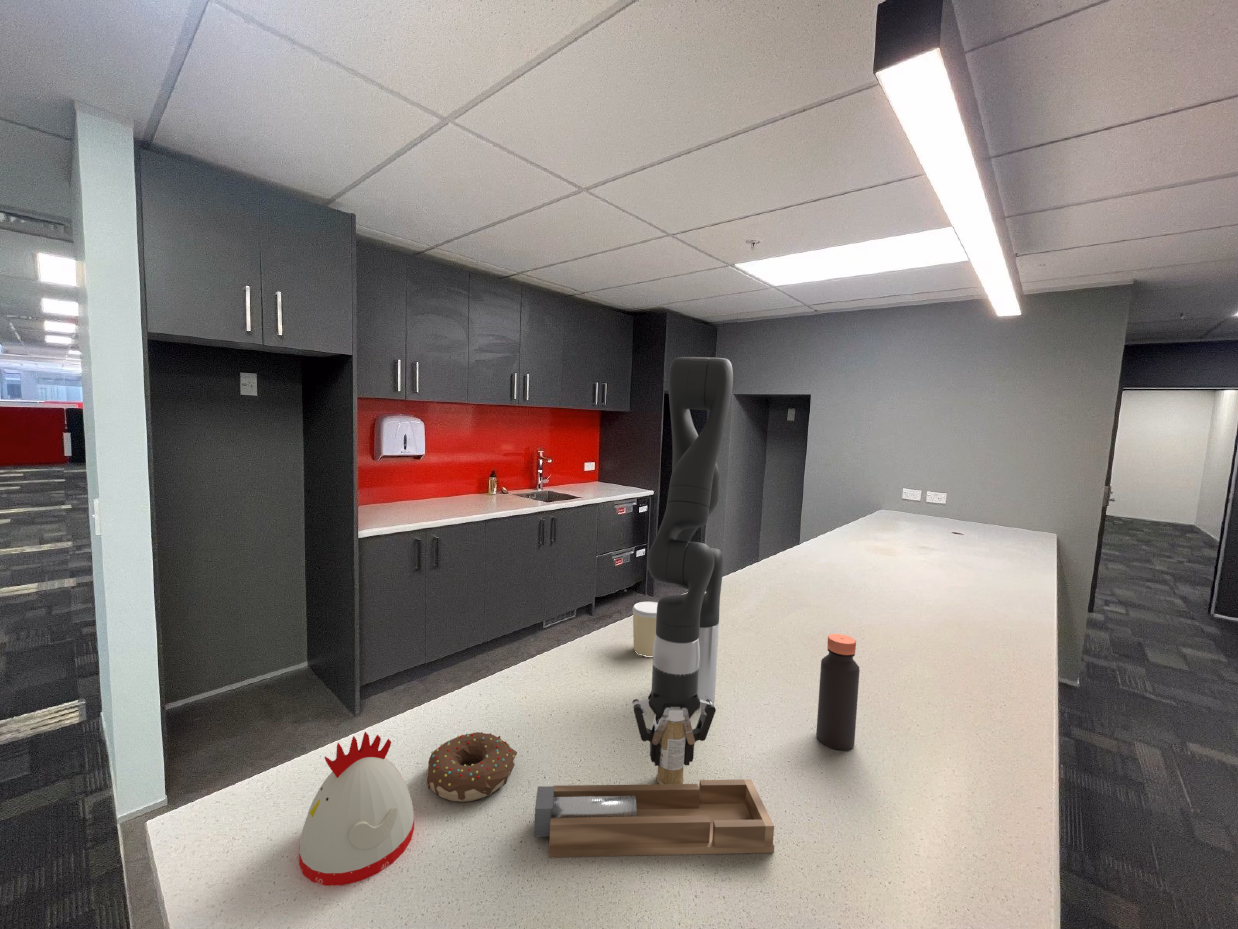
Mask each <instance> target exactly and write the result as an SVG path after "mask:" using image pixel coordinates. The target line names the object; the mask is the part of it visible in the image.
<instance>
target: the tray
mask: <svg viewBox="0 0 1238 929" xmlns="http://www.w3.org/2000/svg"><path fill="white" fill-rule="evenodd" d="M553 786H554V797H575V796H635V797H636V808H637V817H587V818H551V820H550V836H549V844H548V846H549V849H548V858H582V857H590V858H591V857H627V856H628V857H629V856H630V857H631V856H636V857H637V856H667V855H668V856H671V855H673V856H674V855H675V856H676V855H713V854H714V855H715V854H716V855H719V854H721V855H722V854H723V855H724V854H760V853H761V854H762V853H763V854H764V853H766V854H767V853H771V854H772V853H775V844H774V836H775V835H774V833H775V832H774V831H775V825H774V823H773V820H772V819H771V817H770V815H769V812H768V811H767V809H766V806H765V805H764V803H763V800H762V798H761V796H760V794H759V793H758V790H757V788H756V786H755V784H754V782H753V780H752V778H751V779H750V778H749V779H746V778H745V779H741V778H740V779H699V784H698V783H683V784H659V783H658V784H657V783H656V784H655V783H654V784H594V785H593V784H587V785H586V784H583V785H581V784H580V785H579V784H578V785H576V784H575V785H572V784H571V785H568V784H566V785H553Z"/></svg>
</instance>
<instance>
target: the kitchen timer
mask: <svg viewBox="0 0 1238 929" xmlns="http://www.w3.org/2000/svg"><path fill="white" fill-rule="evenodd" d="M380 744H381V737H380V735H379V734H377V735H376V736H375V737H374V739H373V741H372V743H371V741H370V736H369V733H368V732H367V731H364V733H363V736H362V739H361V744H360V748H359V747H358V741H357V738H356V737H355V735H353V736H352V738H351V742H350V747H349V751H348V753H347V754H345V752H344V749H343V747H342V746H341V744H340V743H339V742H337V745H336V754H335V755H336V756H335V759H334V760H331V759H330V758H329V757H327V756H324V760H325V762H326V764H327V765H328V768H329V769H330V770H331V772H330V774H329V775H327V777H326V778H325V780H324V781H323V782H322V784H321V785H320V787H319V789H318V790H317V793H316V795H315V796H314V798H313V800H312V802H311V805H310V806H309V810H308V813H307V815H306V817H305V821H304V824H303V827H302V831H301V836H300V843H299V852H298V855H299V856H298V858H299V860H298V863H299V867H300V870H301V873H302V875H303V876H304V877H305V878H307V879H308V880H309V881H310V882H312V883H315V884H318V885H322V886H345V885H349V884H353V883H359V882H362V881H364V880H366V879H368V878H370V877H373V876H375V875H378V874H379V873H381V872H382V871H383V870H385V869H387V868H388V867H389V866H390V865H393V863H394V862H396V860H398V859H399V858H400V857H401V855H403V854H404V852H405V851H406V849H407V848H408V846H409V844H410V843H411V841H412V838H413V834H414V831H415V812H414V807H413V802H412V796H411V794H410V791H409V787H408V786H407V782H406V780H405V778H404V776H403V774H402V773H401V771H399V770H398V767H397V766H396V765H395V764H394V763H393V762H392V761H391V760H390V759H388V758H386V757H387V755H388V754H389V750H390V748H391V745H392V741H391V739H390V738H387V740H386V742H385V743H384V745H383V746H382V748H381V749H380V750H379V748H380Z"/></svg>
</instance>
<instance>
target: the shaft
mask: <svg viewBox="0 0 1238 929" xmlns="http://www.w3.org/2000/svg"><path fill="white" fill-rule="evenodd" d="M554 786H555V785H552V786H545V785H543V786H537V790H536V799H535V806H534V826H533V827H534V831H533V837H550V820H551V818H587V817H637V808H636V797H635V796H575V797H554Z"/></svg>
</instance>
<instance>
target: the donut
mask: <svg viewBox="0 0 1238 929" xmlns="http://www.w3.org/2000/svg"><path fill="white" fill-rule="evenodd" d="M517 755H518V751H516V750H515V749H513V748H512V747H511V746H510V743H507V741H505V740H503V739H502V738H501V736H500V735H498V736H496V735H495V734H492V733H485V732H482V731H480V732H472V733H466V734H463V733H462V734H461V735H457V736H456V737H455V738H452V739H450V740H447V741H445V742H444V743H441V744H440V746H439V747H437V748H436V749H435V750H433V751H431V754H430V756H429V759H428V766H427V769H426V780H425V781H426V784H427V788H428V790H431V791H433V793H434V794H435V795H436V796H439V797H441V798H443V799H444V800H449V801H451V802H459V803H463V802H465V803H466V802H472V801H476V800H480V799H484V798H485V797H487V796H491V795H492V794H493V793H494V792H496V791H497V790H498V789H500V788H501V787H503V786H504V785H506V784H507V782H508V779H509V777H510V776H511V774H512V771H513V769H514V767H515V762H514V760H515V758H516V756H517Z"/></svg>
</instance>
